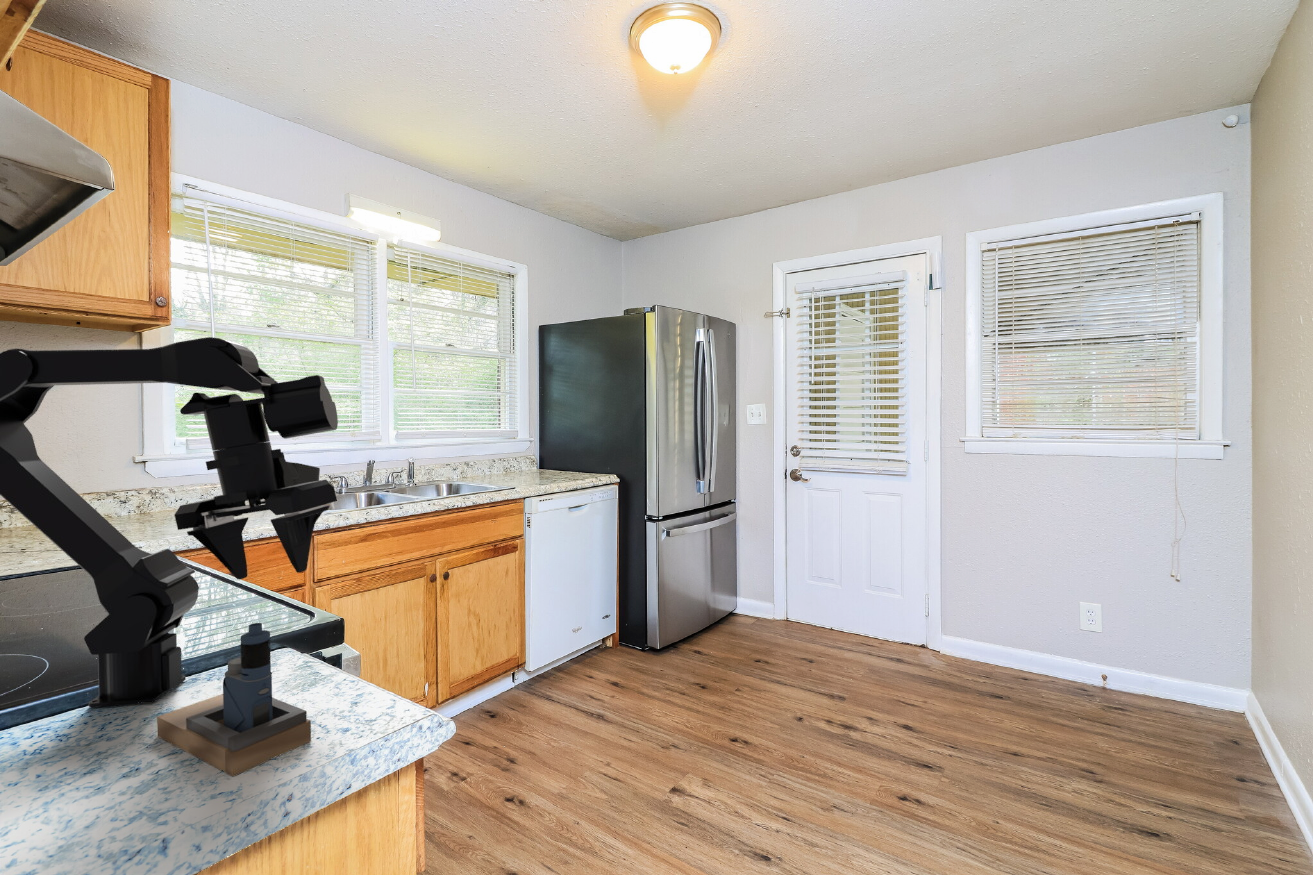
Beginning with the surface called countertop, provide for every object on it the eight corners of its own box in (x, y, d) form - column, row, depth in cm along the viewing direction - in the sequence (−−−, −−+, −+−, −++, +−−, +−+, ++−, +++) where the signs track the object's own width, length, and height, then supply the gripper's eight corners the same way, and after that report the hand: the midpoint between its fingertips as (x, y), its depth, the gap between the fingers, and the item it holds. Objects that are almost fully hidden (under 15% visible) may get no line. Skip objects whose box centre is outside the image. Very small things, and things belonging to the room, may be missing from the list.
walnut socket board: (157, 736, 62) (156, 706, 61) (234, 707, 68) (233, 680, 68) (232, 776, 55) (232, 742, 54) (311, 740, 61) (310, 710, 61)
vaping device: (251, 760, 57) (248, 630, 57) (219, 746, 60) (216, 622, 59) (279, 747, 59) (277, 622, 59) (247, 734, 62) (244, 614, 62)
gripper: (356, 427, 78) (382, 547, 79) (244, 448, 83) (270, 561, 85) (281, 437, 67) (312, 577, 69) (157, 461, 73) (189, 590, 74)
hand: (271, 575), depth 74 cm, fingers open, 9 cm apart
